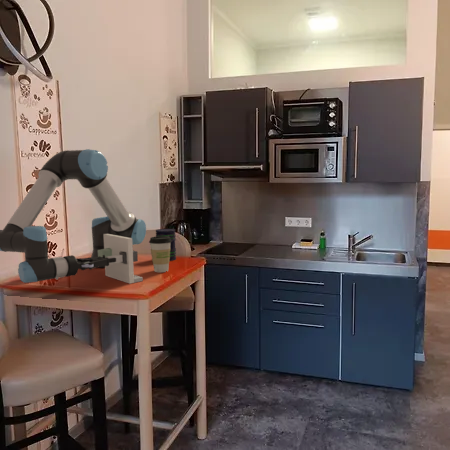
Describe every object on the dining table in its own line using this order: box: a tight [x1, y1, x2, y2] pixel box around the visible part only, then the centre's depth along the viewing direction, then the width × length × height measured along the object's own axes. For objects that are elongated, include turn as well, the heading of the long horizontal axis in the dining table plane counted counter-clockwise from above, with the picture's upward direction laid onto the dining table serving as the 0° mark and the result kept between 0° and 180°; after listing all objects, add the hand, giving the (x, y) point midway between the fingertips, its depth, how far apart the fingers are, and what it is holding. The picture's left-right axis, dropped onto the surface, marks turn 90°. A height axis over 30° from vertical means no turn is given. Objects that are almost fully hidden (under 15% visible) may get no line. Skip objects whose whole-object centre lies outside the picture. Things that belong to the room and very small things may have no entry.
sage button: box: [98, 248, 112, 258], centre depth 197 cm, size 4×6×4 cm, turn 132°
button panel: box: [103, 234, 144, 284], centre depth 195 cm, size 20×6×18 cm, turn 42°
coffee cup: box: [148, 236, 171, 273], centre depth 208 cm, size 10×10×15 cm
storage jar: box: [155, 228, 177, 262], centre depth 234 cm, size 10×10×15 cm
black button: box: [119, 250, 139, 263], centre depth 190 cm, size 4×6×4 cm, turn 132°
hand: (121, 258), depth 188 cm, fingers closed
